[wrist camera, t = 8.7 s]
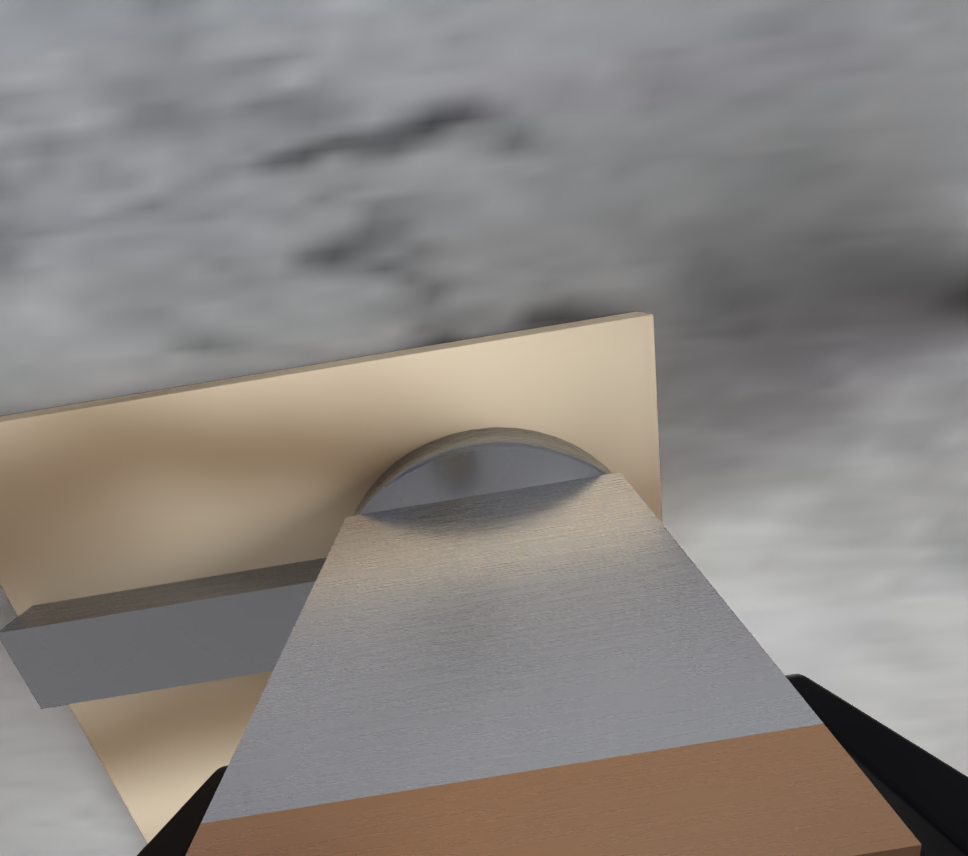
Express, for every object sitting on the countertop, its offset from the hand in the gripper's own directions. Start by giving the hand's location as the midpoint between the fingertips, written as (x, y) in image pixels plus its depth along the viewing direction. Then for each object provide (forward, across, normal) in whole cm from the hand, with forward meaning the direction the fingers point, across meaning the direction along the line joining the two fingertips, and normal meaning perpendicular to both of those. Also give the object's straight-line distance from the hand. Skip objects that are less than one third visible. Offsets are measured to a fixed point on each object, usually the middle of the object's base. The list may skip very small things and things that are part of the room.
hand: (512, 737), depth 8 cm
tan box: (+3, 0, 0) cm, 3 cm away
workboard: (+6, +4, +4) cm, 8 cm away
